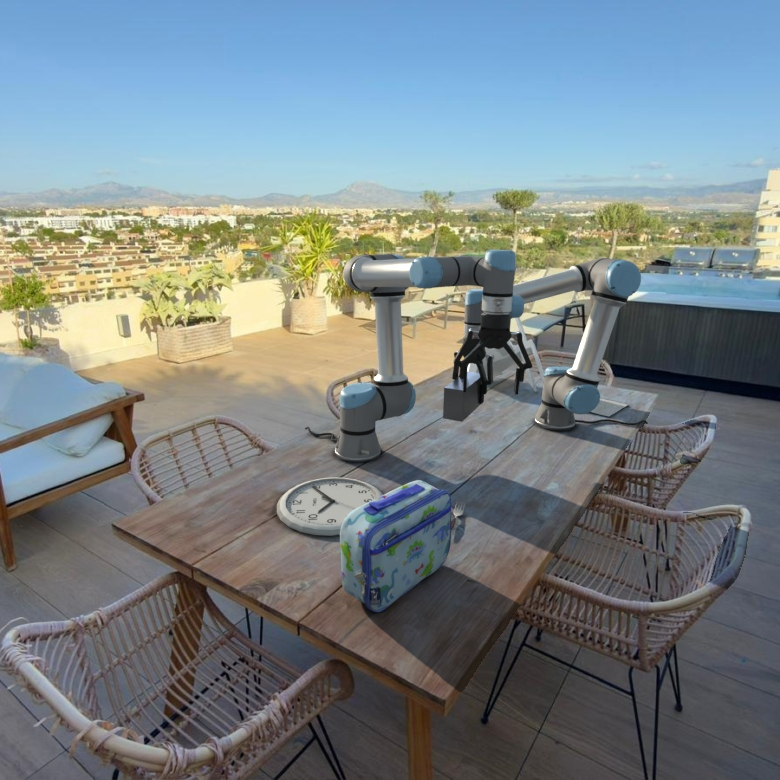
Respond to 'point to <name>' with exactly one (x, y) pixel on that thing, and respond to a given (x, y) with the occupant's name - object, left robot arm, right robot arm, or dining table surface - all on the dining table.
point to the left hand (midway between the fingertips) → (490, 391)
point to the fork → (457, 514)
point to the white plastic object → (505, 361)
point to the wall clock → (323, 504)
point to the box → (462, 397)
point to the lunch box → (394, 543)
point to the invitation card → (608, 407)
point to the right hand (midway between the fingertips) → (471, 401)
